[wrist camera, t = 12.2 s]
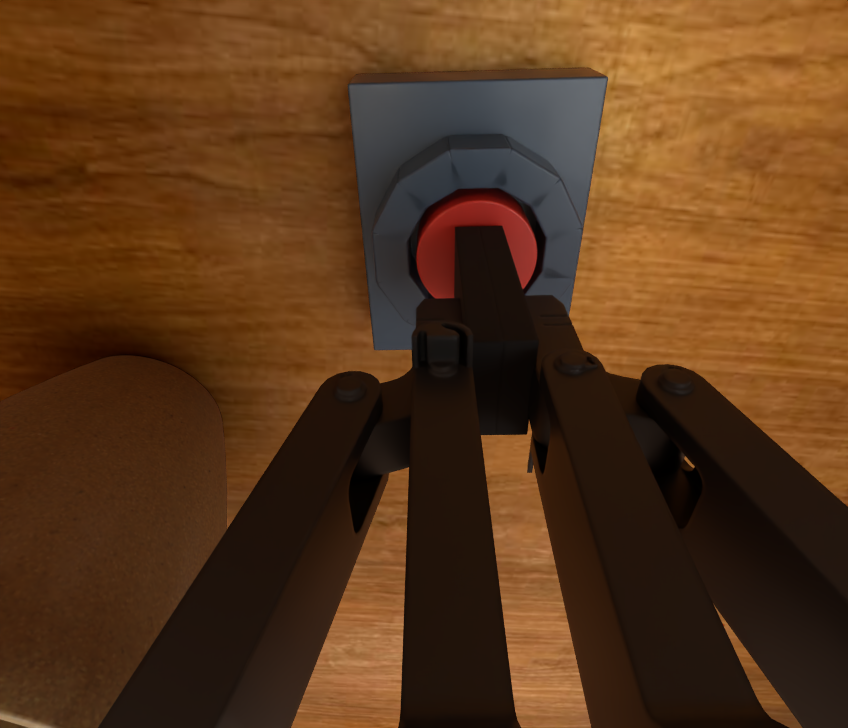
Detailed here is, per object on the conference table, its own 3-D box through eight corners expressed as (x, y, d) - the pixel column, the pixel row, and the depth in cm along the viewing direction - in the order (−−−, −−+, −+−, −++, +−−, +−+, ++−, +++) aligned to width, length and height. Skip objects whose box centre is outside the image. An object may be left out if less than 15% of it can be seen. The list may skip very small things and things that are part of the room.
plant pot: (235, 532, 33) (110, 886, 20) (-24, 436, 28) (-416, 823, 15) (350, 380, 25) (270, 785, 12) (25, 214, 21) (-658, 597, 8)
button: (415, 184, 17) (414, 201, 16) (534, 181, 17) (544, 198, 16) (418, 290, 20) (418, 313, 18) (523, 288, 20) (531, 311, 18)
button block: (355, 74, 18) (338, 93, 14) (590, 67, 17) (627, 85, 14) (378, 323, 23) (370, 376, 20) (553, 320, 23) (574, 373, 20)
